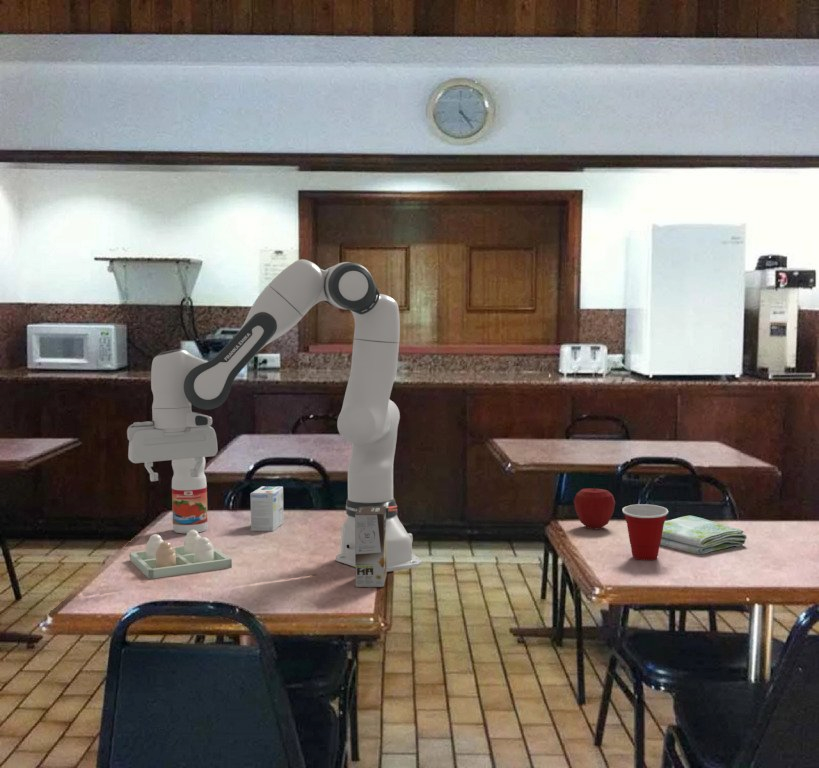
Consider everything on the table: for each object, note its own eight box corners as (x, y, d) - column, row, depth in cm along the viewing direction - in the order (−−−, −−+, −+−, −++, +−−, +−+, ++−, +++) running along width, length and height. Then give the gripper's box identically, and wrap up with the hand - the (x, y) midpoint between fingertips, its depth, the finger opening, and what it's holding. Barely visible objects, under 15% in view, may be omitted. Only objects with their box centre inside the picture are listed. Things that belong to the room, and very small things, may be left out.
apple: (621, 527, 260) (622, 485, 260) (601, 533, 252) (602, 490, 252) (586, 521, 268) (587, 481, 267) (566, 528, 260) (566, 486, 259)
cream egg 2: (204, 558, 228) (204, 530, 227) (186, 560, 226) (186, 532, 225) (199, 554, 232) (199, 527, 231) (181, 556, 230) (181, 529, 229)
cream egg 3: (216, 566, 220) (215, 538, 220) (197, 568, 218) (197, 540, 217) (210, 562, 224) (210, 534, 223) (192, 564, 222) (191, 536, 221)
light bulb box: (261, 522, 270) (260, 485, 270) (284, 523, 270) (283, 486, 269) (250, 531, 260) (249, 492, 259) (273, 531, 259) (273, 492, 258)
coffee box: (384, 587, 203) (383, 514, 202) (355, 587, 203) (354, 514, 202) (387, 576, 212) (386, 505, 211) (358, 576, 213) (357, 505, 212)
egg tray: (231, 569, 219) (231, 559, 219) (149, 581, 210) (149, 570, 210) (207, 552, 235) (207, 542, 235) (130, 562, 226) (129, 552, 226)
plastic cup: (618, 561, 223) (619, 511, 223) (624, 550, 234) (625, 503, 233) (666, 565, 220) (666, 514, 219) (669, 554, 230) (670, 505, 229)
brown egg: (178, 571, 216) (177, 542, 215) (159, 573, 214) (158, 544, 213) (173, 567, 220) (172, 538, 219) (154, 569, 217) (153, 541, 217)
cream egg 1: (167, 562, 223) (167, 535, 223) (149, 565, 221) (148, 537, 221) (163, 558, 227) (162, 531, 227) (144, 561, 225) (143, 533, 225)
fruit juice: (210, 526, 266) (207, 427, 264) (205, 533, 257) (202, 431, 255) (176, 527, 266) (173, 428, 264) (170, 534, 256) (167, 432, 254)
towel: (700, 557, 228) (701, 536, 228) (636, 540, 246) (636, 521, 246) (749, 547, 238) (750, 527, 238) (684, 531, 256) (684, 513, 256)
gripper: (130, 423, 210) (132, 485, 211) (218, 417, 220) (220, 476, 221) (123, 421, 216) (125, 481, 216) (210, 415, 226) (212, 472, 227)
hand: (174, 478), depth 219 cm, fingers open, 8 cm apart
